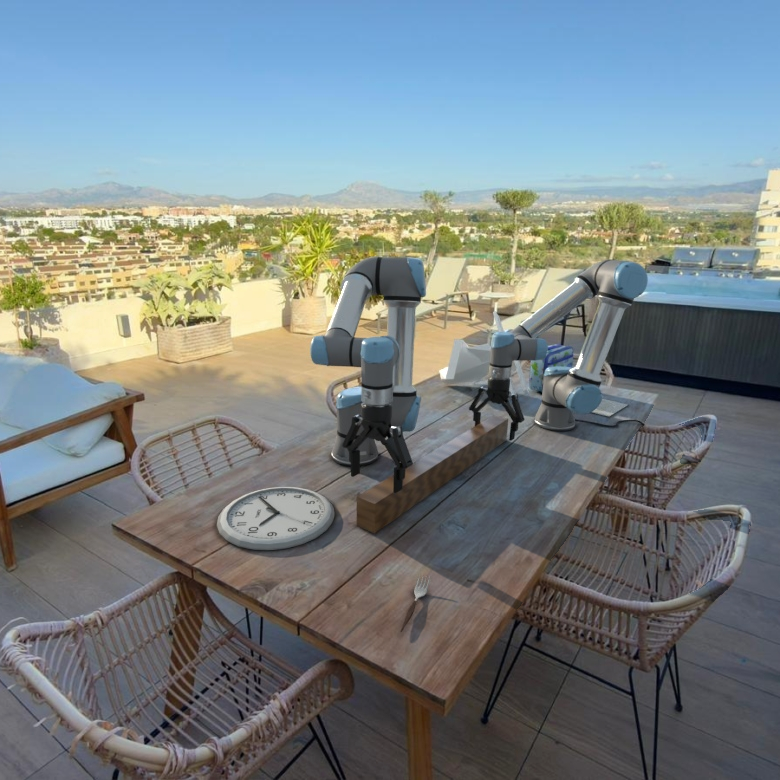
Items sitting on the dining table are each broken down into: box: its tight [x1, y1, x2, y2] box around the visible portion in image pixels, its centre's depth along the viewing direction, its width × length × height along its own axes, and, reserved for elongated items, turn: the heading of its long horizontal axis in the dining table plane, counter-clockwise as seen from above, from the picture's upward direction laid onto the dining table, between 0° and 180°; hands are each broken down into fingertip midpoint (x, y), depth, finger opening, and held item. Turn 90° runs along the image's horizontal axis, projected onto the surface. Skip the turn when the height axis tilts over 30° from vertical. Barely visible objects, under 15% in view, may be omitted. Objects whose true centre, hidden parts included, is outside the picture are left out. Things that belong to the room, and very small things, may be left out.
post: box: [356, 414, 509, 535], centre depth 160 cm, size 77×6×8 cm, turn 143°
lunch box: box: [528, 344, 574, 393], centre depth 247 cm, size 26×11×21 cm, turn 134°
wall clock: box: [216, 486, 336, 551], centre depth 136 cm, size 30×2×30 cm
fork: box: [400, 573, 431, 633], centre depth 105 cm, size 3×16×2 cm, turn 160°
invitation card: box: [591, 398, 629, 418], centre depth 226 cm, size 21×1×15 cm
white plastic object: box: [438, 310, 531, 397], centre depth 245 cm, size 37×45×31 cm
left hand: (376, 482), depth 131 cm, fingers open, 13 cm apart
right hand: (493, 434), depth 186 cm, fingers open, 13 cm apart
